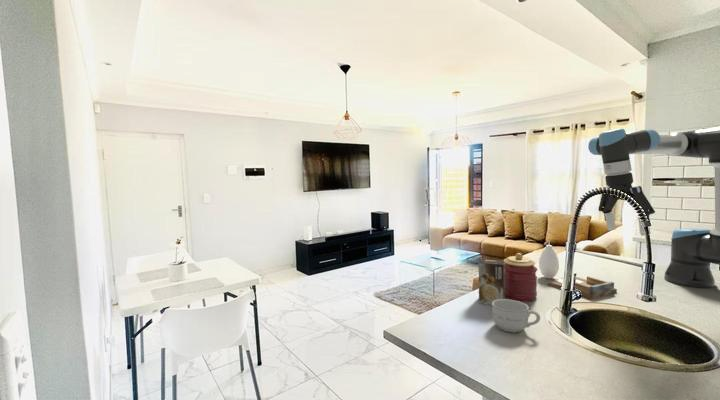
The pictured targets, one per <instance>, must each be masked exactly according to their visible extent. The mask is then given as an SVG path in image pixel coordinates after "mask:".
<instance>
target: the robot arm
mask: <svg viewBox="0 0 720 400" xmlns="http://www.w3.org/2000/svg"><path fill="white" fill-rule="evenodd" d="M588 151H589V153H590V154H592V155H595V156H601V158H602V159H601V160H602V164H603V172H604V175H606V176H605V177H604V178H605V183H606V186H605V187H603V188H612V189H616V190H620V191H622V192H624V193H626V194H627V195H629V196H630V197H632V198H633V199H634V200H635V201H636V202H637V203H638V204H639V205H640V206H641V207H642V209H643V210H644V212H645V214H646V216H647V218H648V220H649V222H650V223H651V220H650V215H653V214H655V213H656V211H655V209H654V208H653V205H651V203H650V201H649V200H648V198H647V197H646V195H645V193H644V191H643V188H642V186H641V185H638V186H633V185H632V184H633V183H634V178H633V177H634V176H633V173H632V172H631V171H633V170H632V165H631V160H630V159H631V157H630V155H660V154H662V155H666V156H669V157H685V158H696V159H698V158H699V159H708V164H709V165H711V166H712V167H714V228H712V229H709V228H678V229H674V230H673V231H672V233H671V242H670V243H671V245H670V246H671V247H670V262H669V264H668V266H667V268H666V269H665V272H664V275H663V276H664V280H666V281H668V282H670V283H673V284H676V285H681V286H686V287H692V288H693V287H694V288H702V289H703V288H705V289H709V288H714V287H715V284H716V281H715V277H714V275H713V272H712V270H711V267H710V264H713V265H719V266H720V126H716V127H715V126H713V127H706V128H698V129H693V130H689V131H683V132H681V131H680V132H676V131H675V132H672V133H669V134H659V133H658V131H656V130H655V129H652V128H650V129H649V128H647V129H641V130H637V131H630V132H629V131H628V132H626V129H624V128H618V129H613V130H607V131H603V132H601V133H599V134H598V136H594V137H593V138H591V139H590V140H589V141H588ZM619 200H620V201H625V200H624V199H622V198H620V197H617V196H615V195H610V194H602V193H601V197H600V202H599V205H598V212H602V214H604V215H603V217H604V220H605V223H606V229H607V231H615V230H617V226H616V222H615V220H616V219H615V215H614V212H613V210H614V207H615V206H616V203H617V202H618V201H619ZM628 204H629V205H630V206H631V207H632V205H631V204H630V203H628ZM637 220H638V226H639V231H640V232H639V233H640V236H642V237H643V236H646V235H645V233H644V229H643V227H642V225H641V221H640V219H639V217H638V216H637ZM648 230H649V234H648V235H651V229H650V226H649V228H648Z"/></svg>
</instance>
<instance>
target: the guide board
mask: <svg viewBox="0 0 720 400" xmlns="http://www.w3.org/2000/svg"><path fill="white" fill-rule="evenodd" d="M575 277H576V282H575V288H576V289H578V290H580V291H581V294H582V298H584V299H588V300H593V299H597V298H600V297H601V298H602V297H604V296H608V295H612V294H616V293H617V292H618V289H617V288H615V282H614V281H605V280H603V279H599V278H595V277H591V276H586V279H584V278H581V277H577V276H575ZM563 278H564V277H562V278H557V279H552V280H547V285H548V286H550V287H553V288H556V289H559V290H561V289H560V288H561V287H562V281H563Z"/></svg>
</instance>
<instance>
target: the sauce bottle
mask: <svg viewBox="0 0 720 400" xmlns="http://www.w3.org/2000/svg"><path fill="white" fill-rule="evenodd" d="M550 243H551V241H550V240H548V244H546V245H545V247H544V248H543V250H542V251H541V254H540V255H539V256H540V257H539V259H538V260H539V261H538V267H539V270H540V273H541V275H543V276H544V277H545V278H547V280H548V279H552V278H554V277H556V276H557V274H558V272H559V268H560V264H559V263H560V262H559V257H558V254H557V252H556V251H555V249H554V248H553V245H551V244H550Z"/></svg>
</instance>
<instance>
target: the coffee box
mask: <svg viewBox="0 0 720 400" xmlns="http://www.w3.org/2000/svg"><path fill="white" fill-rule="evenodd" d="M504 263H505V262H504V260H503V259H502V260H500V259H486V258H485V259H483V258H478V304H483V305H491V306H493V305H492V302H493V301H495V300H499V299H505V297H504Z"/></svg>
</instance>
